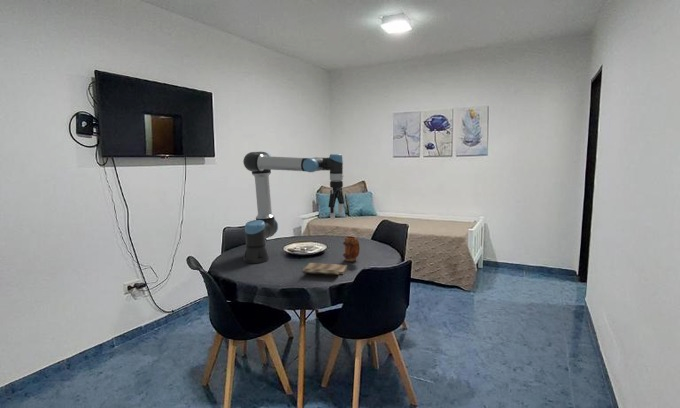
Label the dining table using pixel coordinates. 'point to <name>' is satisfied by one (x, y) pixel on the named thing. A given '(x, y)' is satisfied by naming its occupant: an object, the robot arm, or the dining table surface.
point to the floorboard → (327, 267)
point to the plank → (321, 271)
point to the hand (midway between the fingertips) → (336, 216)
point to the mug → (351, 248)
